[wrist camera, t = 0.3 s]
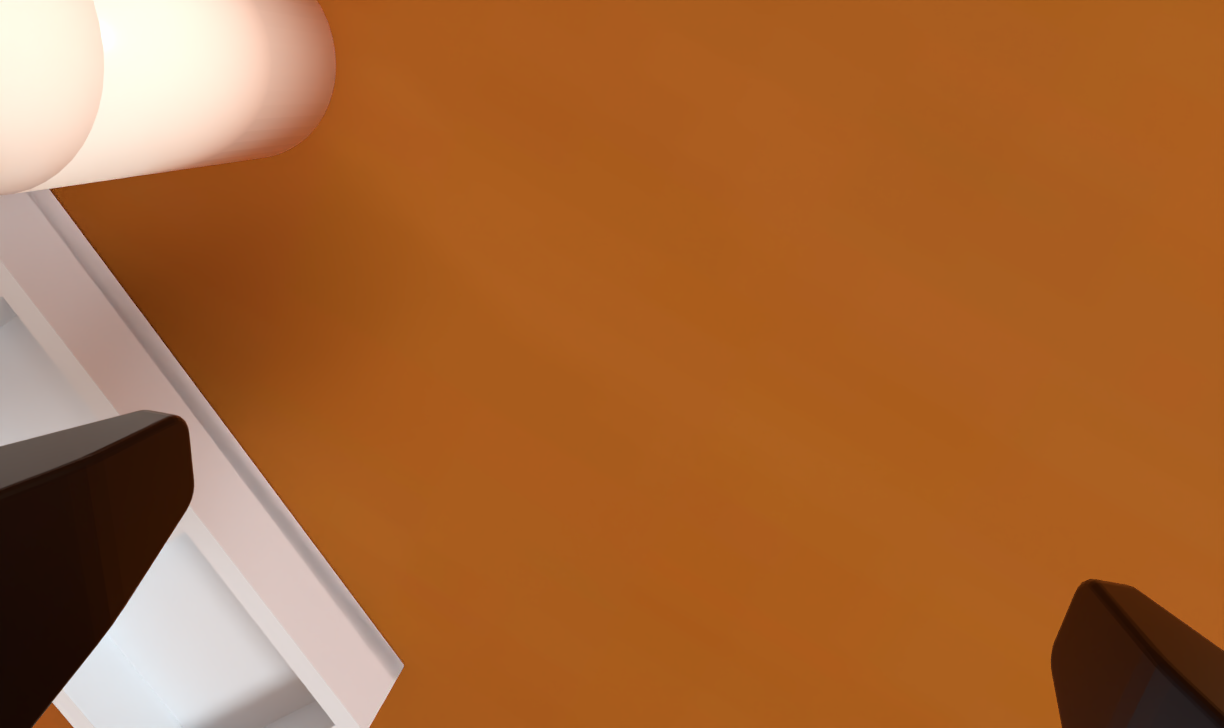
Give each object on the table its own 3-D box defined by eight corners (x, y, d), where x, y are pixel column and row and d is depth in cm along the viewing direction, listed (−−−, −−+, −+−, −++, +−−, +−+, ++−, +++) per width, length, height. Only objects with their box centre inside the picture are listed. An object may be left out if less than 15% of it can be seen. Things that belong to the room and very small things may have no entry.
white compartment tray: (404, 665, 27) (365, 733, 24) (218, 758, 29) (161, 831, 26) (-90, 3, 23) (-207, -10, 20) (-266, 165, 25) (-395, 175, 22)
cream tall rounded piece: (325, 177, 23) (-21, 252, 12) (142, 135, 23) (-347, 172, 13) (346, -31, 21) (-30, -148, 11) (149, -74, 21) (-401, -227, 11)
